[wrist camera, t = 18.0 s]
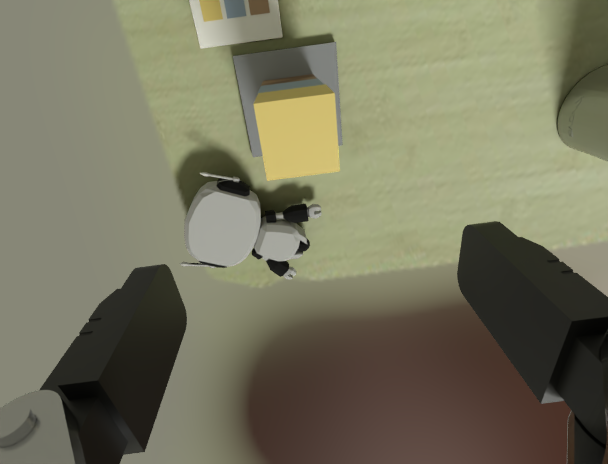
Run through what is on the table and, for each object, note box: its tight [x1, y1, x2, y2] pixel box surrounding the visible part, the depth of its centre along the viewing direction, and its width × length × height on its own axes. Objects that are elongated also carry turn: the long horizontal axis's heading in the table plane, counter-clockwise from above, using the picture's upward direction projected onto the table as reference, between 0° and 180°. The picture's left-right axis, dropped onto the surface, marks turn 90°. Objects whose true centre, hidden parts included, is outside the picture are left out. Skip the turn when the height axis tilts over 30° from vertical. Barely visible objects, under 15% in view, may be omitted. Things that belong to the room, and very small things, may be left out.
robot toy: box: [180, 172, 321, 279], centre depth 41 cm, size 12×4×15 cm
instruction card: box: [189, 0, 283, 48], centre depth 31 cm, size 8×6×1 cm
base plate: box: [233, 42, 342, 157], centre depth 35 cm, size 10×10×1 cm
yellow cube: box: [253, 84, 340, 181], centre depth 24 cm, size 5×5×5 cm
